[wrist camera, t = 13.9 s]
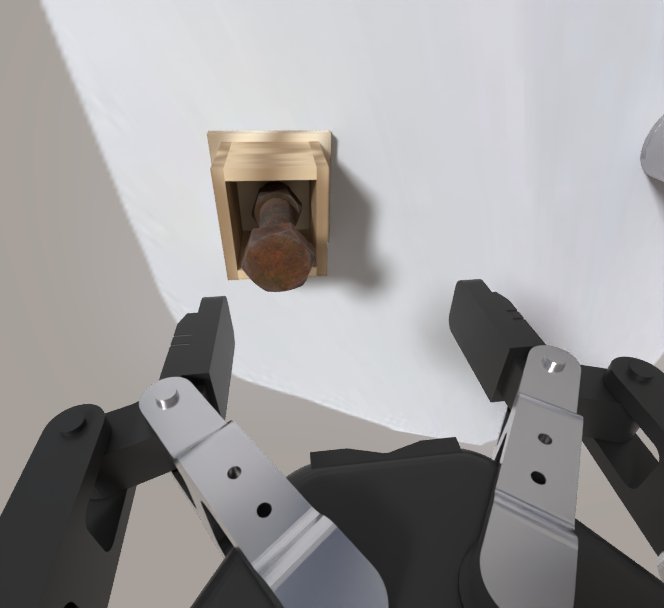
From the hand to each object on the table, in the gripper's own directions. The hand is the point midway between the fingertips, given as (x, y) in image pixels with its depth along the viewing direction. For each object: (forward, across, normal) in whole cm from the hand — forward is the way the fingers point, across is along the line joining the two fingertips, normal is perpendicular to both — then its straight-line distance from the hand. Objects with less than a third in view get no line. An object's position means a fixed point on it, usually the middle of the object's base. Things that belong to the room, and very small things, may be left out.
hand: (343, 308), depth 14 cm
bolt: (+30, +3, +7) cm, 31 cm away
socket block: (+31, +3, +7) cm, 32 cm away
